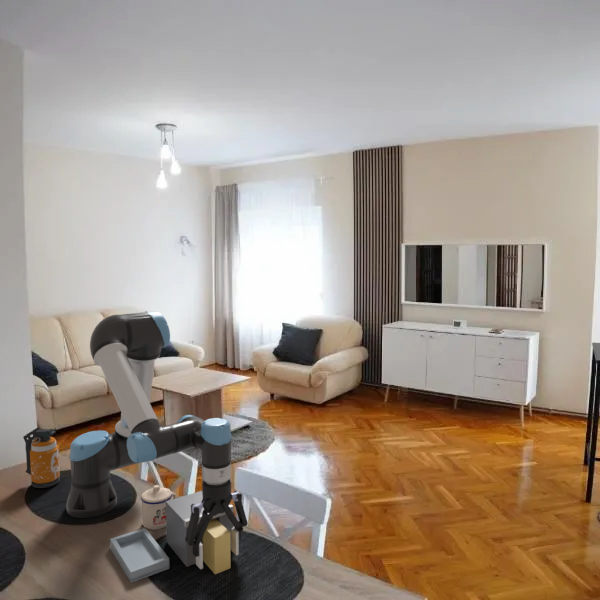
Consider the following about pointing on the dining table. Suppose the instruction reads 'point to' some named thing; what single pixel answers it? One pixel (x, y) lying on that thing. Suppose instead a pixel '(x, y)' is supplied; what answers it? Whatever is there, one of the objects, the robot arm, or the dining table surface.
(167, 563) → the tray
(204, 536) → the yellow cuboid
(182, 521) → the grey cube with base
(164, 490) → the teacup with lid
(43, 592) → the dining table surface
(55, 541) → the dining table surface
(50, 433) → the canister
